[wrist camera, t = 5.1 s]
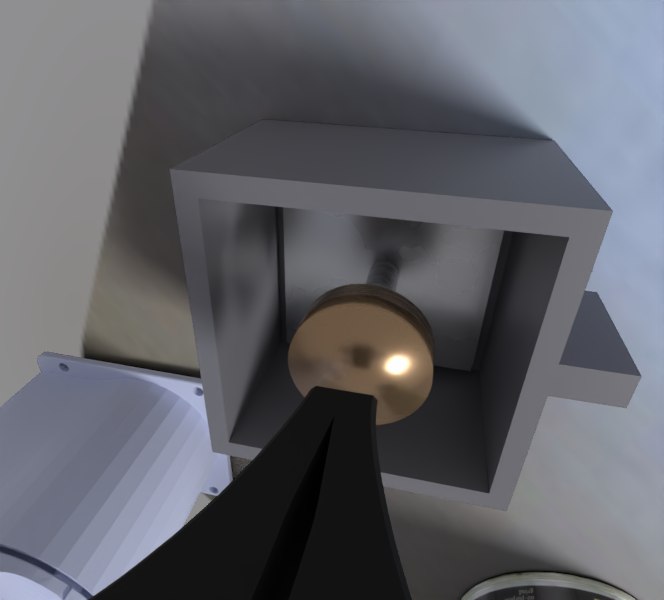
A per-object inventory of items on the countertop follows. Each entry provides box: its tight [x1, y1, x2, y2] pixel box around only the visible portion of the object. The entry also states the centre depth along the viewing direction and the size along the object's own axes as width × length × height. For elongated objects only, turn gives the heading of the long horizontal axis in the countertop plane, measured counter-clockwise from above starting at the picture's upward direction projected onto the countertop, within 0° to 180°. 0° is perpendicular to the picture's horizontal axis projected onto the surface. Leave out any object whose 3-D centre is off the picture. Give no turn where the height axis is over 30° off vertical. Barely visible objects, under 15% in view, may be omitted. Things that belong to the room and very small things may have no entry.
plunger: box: [283, 207, 504, 425], centre depth 14 cm, size 7×7×6 cm
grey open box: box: [169, 119, 642, 511], centre depth 14 cm, size 11×9×6 cm
